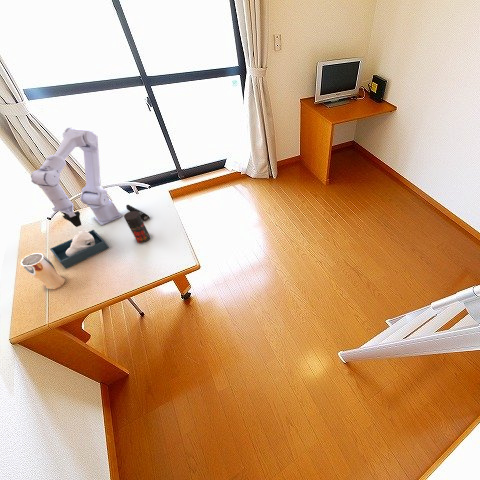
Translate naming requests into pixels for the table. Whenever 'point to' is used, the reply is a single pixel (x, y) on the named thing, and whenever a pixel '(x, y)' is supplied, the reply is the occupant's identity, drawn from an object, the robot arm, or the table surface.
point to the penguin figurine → (80, 243)
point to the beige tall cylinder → (42, 270)
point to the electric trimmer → (143, 215)
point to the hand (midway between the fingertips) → (75, 221)
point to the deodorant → (137, 226)
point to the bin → (81, 255)
